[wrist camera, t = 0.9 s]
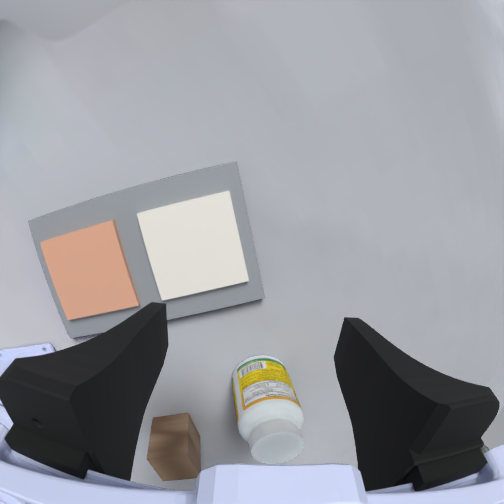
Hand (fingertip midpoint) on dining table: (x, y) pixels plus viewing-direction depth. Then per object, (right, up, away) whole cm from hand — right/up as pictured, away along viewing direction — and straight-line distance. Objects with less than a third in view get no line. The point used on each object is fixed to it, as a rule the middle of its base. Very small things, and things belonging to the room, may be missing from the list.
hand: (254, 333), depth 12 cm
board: (-9, +3, +12) cm, 16 cm away
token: (-8, -16, +17) cm, 25 cm away
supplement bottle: (+1, -9, +17) cm, 19 cm away
